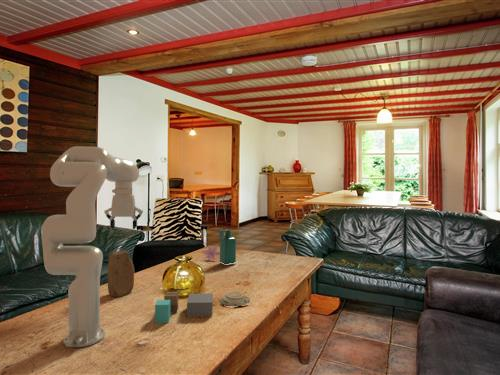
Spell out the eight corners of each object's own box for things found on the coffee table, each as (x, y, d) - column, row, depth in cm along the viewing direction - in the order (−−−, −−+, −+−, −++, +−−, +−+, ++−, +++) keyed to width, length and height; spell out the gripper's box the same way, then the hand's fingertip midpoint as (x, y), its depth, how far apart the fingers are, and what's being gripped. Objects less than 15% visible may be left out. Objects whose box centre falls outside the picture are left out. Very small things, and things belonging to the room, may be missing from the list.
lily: (200, 260, 223) (198, 249, 218) (213, 251, 230) (212, 240, 225) (211, 268, 215) (210, 258, 210) (225, 259, 222) (224, 248, 217)
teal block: (168, 322, 125) (168, 304, 125) (154, 323, 125) (155, 305, 124) (170, 317, 130) (170, 299, 130) (157, 317, 130) (157, 300, 129)
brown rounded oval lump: (113, 298, 148) (114, 254, 148) (106, 294, 153) (106, 252, 153) (136, 292, 157) (136, 250, 156) (127, 288, 161) (128, 248, 161)
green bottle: (229, 261, 216) (229, 228, 215) (237, 264, 210) (237, 229, 209) (216, 263, 210) (217, 229, 209) (224, 266, 203) (224, 231, 203)
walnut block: (176, 312, 134) (176, 296, 134) (164, 313, 134) (164, 296, 134) (178, 308, 139) (178, 291, 139) (166, 308, 139) (166, 291, 139)
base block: (212, 317, 131) (212, 302, 131) (186, 317, 130) (186, 302, 130) (212, 307, 141) (212, 293, 141) (189, 307, 140) (189, 293, 140)
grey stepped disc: (214, 307, 141) (248, 310, 138) (214, 299, 141) (248, 302, 138) (223, 295, 156) (254, 298, 153) (223, 288, 156) (255, 290, 153)
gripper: (101, 192, 150) (101, 229, 150) (141, 192, 152) (140, 229, 152) (107, 191, 157) (107, 227, 158) (144, 192, 159) (144, 227, 160)
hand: (123, 228), depth 155 cm, fingers open, 9 cm apart
